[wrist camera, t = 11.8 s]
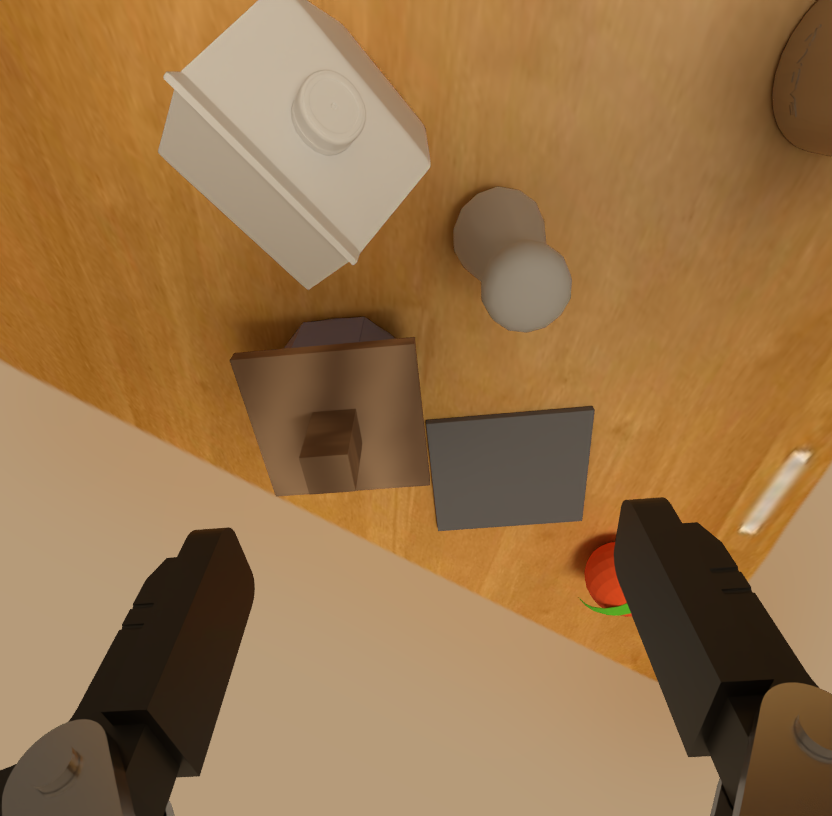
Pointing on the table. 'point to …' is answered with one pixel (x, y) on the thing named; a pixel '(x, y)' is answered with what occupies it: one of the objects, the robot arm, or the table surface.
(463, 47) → the table surface
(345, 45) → the milk carton
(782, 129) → the robot arm
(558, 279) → the salt shaker
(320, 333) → the bowl
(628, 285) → the table surface
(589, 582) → the clementine
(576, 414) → the mat
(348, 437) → the lid
